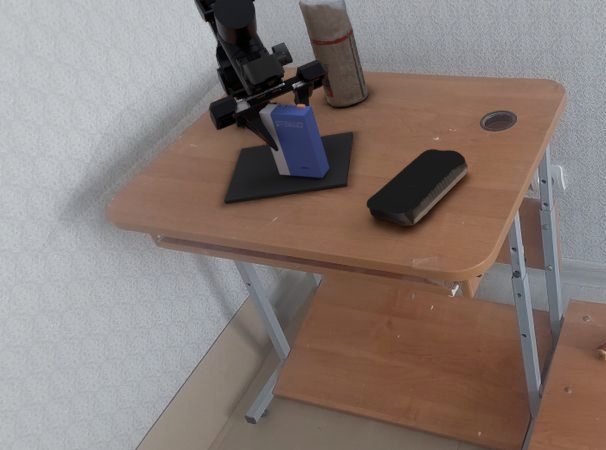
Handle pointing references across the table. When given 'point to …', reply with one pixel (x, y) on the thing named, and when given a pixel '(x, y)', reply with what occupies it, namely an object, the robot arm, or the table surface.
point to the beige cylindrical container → (335, 50)
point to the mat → (269, 182)
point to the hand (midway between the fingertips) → (295, 142)
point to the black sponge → (418, 187)
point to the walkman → (295, 140)
